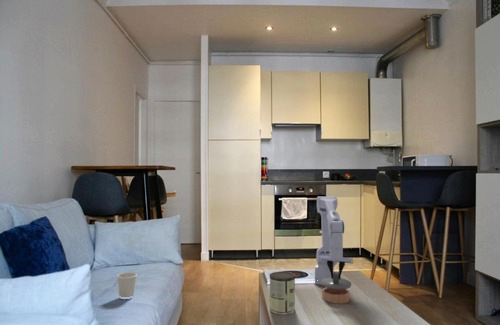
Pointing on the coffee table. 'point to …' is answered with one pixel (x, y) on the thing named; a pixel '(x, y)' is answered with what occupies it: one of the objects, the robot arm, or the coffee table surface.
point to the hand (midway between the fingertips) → (335, 278)
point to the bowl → (335, 295)
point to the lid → (336, 282)
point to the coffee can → (282, 293)
